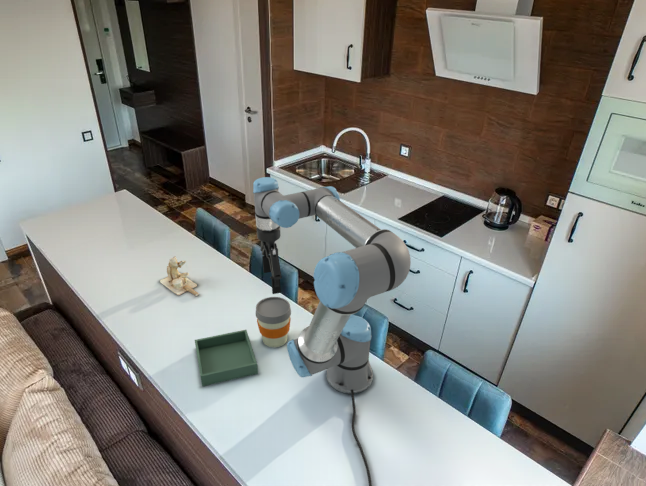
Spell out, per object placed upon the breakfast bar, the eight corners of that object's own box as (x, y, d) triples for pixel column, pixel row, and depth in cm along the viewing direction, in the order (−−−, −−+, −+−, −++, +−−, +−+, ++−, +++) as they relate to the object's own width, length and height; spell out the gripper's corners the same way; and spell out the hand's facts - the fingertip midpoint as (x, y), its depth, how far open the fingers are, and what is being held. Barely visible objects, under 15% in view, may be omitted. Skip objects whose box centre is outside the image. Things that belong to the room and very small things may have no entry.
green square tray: (258, 373, 152) (257, 363, 149) (202, 386, 147) (200, 376, 145) (247, 339, 167) (246, 329, 164) (196, 349, 162) (194, 339, 160)
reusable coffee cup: (276, 324, 174) (274, 292, 166) (299, 339, 166) (298, 306, 158) (250, 339, 167) (247, 306, 158) (273, 355, 159) (271, 322, 151)
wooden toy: (158, 281, 200) (152, 254, 192) (179, 272, 206) (174, 246, 198) (185, 302, 187) (179, 274, 179) (206, 292, 192) (202, 265, 185)
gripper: (289, 242, 134) (292, 300, 146) (270, 209, 154) (273, 262, 166) (265, 246, 132) (269, 304, 144) (249, 212, 153) (253, 265, 164)
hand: (271, 282), depth 155 cm, fingers open, 13 cm apart
